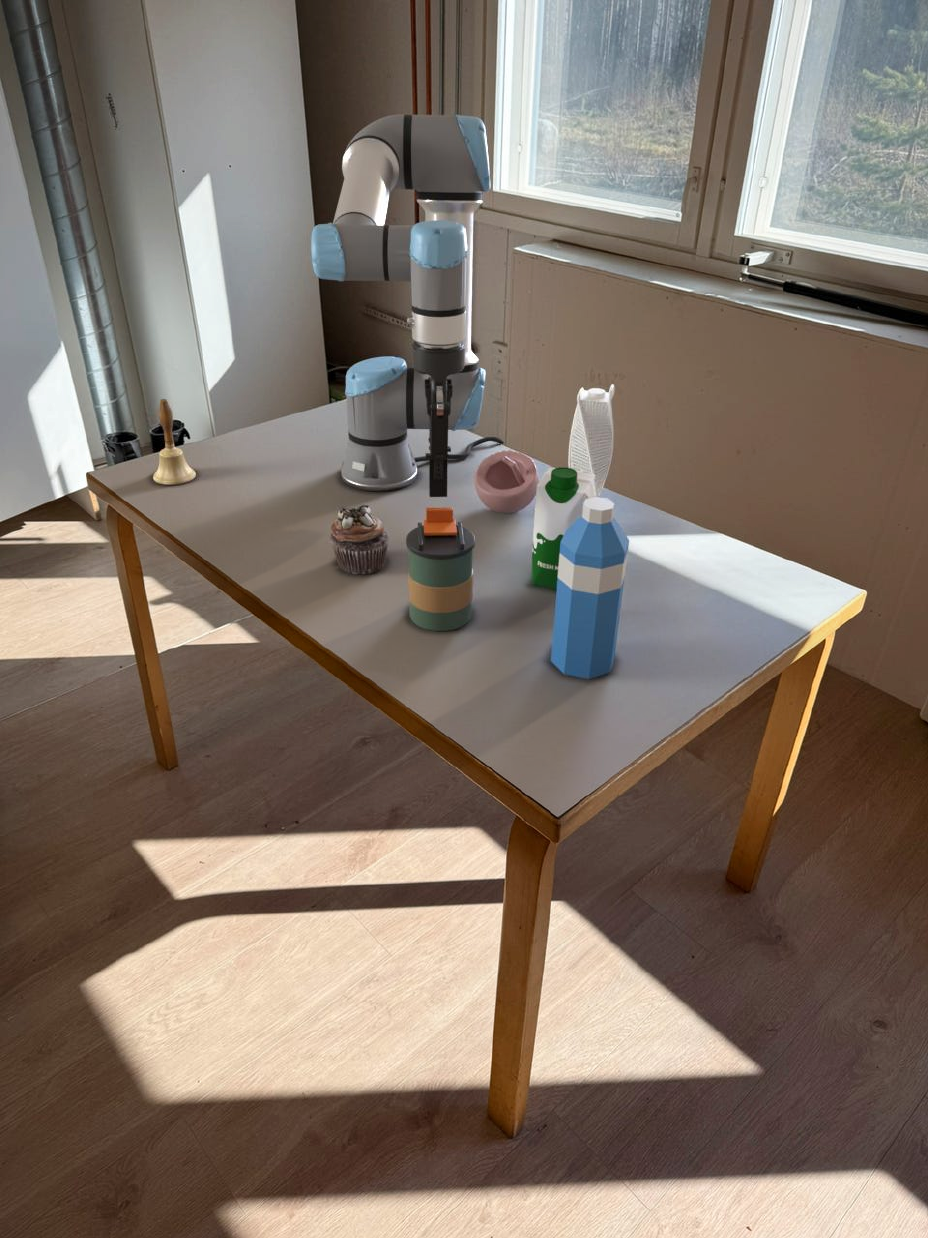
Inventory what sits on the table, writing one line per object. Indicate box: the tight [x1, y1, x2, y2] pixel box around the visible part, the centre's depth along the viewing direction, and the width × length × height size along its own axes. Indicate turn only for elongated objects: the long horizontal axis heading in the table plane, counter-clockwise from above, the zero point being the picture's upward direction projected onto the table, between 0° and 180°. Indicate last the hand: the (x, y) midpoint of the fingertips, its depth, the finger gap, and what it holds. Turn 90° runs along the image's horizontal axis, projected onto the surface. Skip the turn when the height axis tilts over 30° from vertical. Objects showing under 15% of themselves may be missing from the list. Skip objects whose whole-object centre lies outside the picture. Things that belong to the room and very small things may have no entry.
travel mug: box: [407, 548, 474, 632], centre depth 140 cm, size 10×10×12 cm
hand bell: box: [152, 398, 197, 486], centre depth 181 cm, size 8×8×16 cm
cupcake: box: [330, 504, 390, 575], centre depth 154 cm, size 10×10×10 cm
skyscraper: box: [567, 383, 615, 497], centre depth 160 cm, size 8×8×28 cm
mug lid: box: [405, 521, 476, 560], centre depth 136 cm, size 10×10×2 cm
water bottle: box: [550, 496, 630, 680], centre depth 127 cm, size 9×9×25 cm
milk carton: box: [531, 466, 595, 590], centre depth 148 cm, size 9×9×20 cm
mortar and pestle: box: [474, 449, 540, 514], centre depth 172 cm, size 12×12×11 cm
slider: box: [423, 507, 457, 536], centre depth 137 cm, size 4×5×2 cm
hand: (438, 494), depth 142 cm, fingers closed
